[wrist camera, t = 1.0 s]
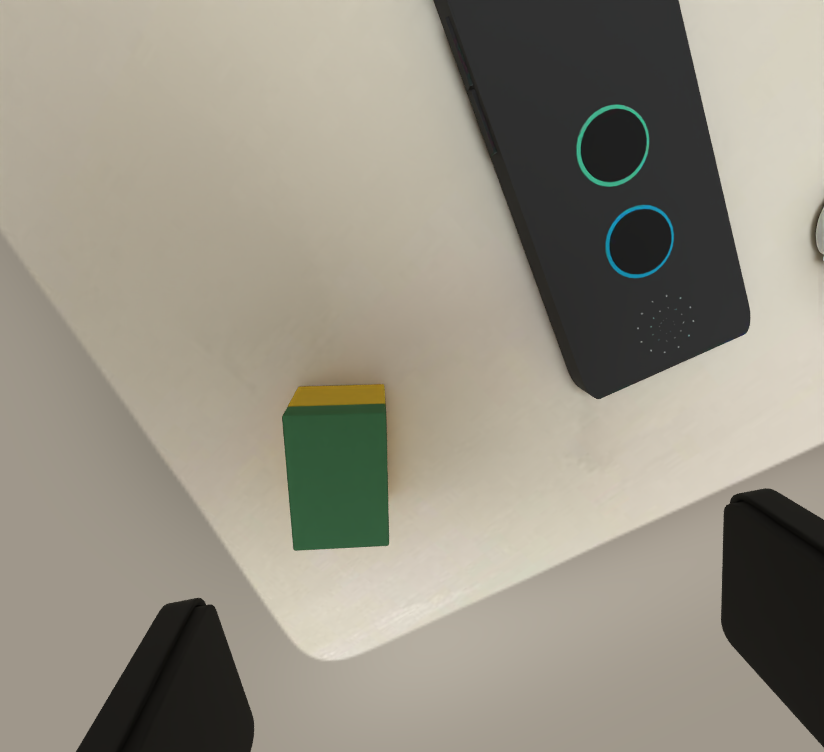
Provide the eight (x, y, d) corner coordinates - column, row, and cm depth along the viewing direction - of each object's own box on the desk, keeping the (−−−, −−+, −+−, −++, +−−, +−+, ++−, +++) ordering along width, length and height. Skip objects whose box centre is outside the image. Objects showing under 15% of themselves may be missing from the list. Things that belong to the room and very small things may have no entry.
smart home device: (589, 406, 21) (407, -101, 16) (573, 394, 23) (404, -67, 17) (760, 329, 21) (636, -216, 15) (731, 323, 22) (610, -170, 17)
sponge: (386, 497, 23) (389, 546, 20) (306, 501, 23) (293, 551, 19) (384, 383, 22) (386, 412, 18) (298, 386, 22) (281, 416, 18)
